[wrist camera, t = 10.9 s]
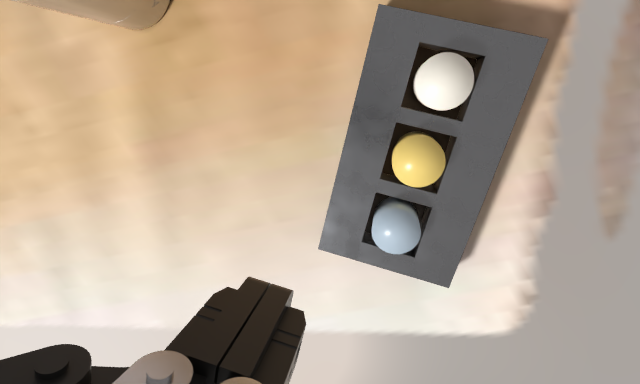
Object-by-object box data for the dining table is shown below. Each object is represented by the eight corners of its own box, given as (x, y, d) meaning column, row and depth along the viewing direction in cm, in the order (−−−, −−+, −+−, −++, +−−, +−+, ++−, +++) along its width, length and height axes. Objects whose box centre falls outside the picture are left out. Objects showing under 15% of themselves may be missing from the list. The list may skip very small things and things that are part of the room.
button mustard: (386, 170, 36) (385, 179, 32) (399, 126, 34) (400, 130, 30) (430, 181, 35) (435, 193, 31) (445, 137, 34) (453, 143, 30)
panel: (323, 237, 40) (318, 249, 37) (379, 11, 32) (378, 4, 29) (444, 273, 38) (448, 288, 35) (533, 43, 31) (548, 38, 28)
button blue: (368, 230, 38) (366, 246, 34) (380, 191, 36) (378, 203, 32) (410, 242, 37) (412, 259, 33) (423, 203, 36) (427, 217, 32)
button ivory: (406, 102, 33) (408, 103, 30) (421, 52, 32) (425, 46, 28) (454, 113, 33) (462, 116, 29) (471, 63, 31) (482, 59, 28)
